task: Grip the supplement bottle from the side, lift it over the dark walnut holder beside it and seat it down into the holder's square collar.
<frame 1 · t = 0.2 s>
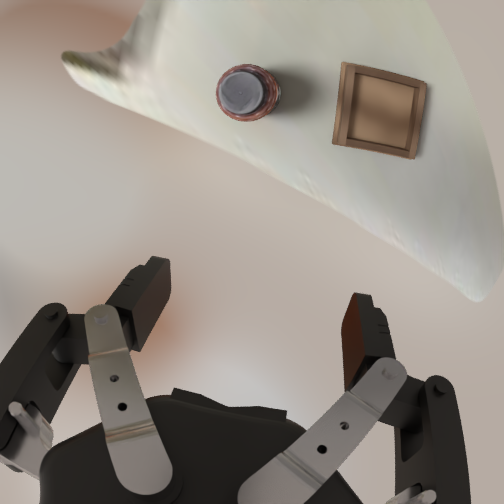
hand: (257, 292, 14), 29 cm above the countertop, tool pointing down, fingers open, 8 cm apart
supplement bottle: (256, 92, 35), on the countertop
can holder: (378, 110, 34), on the countertop
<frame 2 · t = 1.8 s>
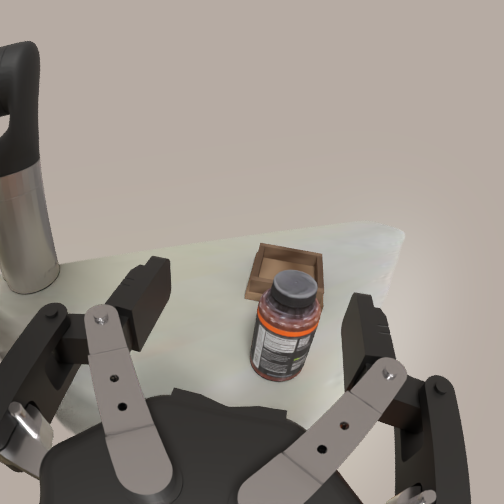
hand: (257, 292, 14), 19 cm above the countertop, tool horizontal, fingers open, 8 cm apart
supplement bottle: (275, 363, 34), on the countertop
can holder: (286, 282, 46), on the countertop
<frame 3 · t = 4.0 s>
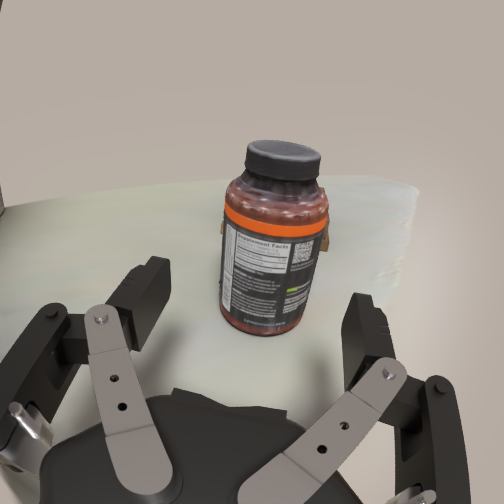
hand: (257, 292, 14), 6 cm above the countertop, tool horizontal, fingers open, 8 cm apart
supplement bottle: (260, 311, 22), on the countertop
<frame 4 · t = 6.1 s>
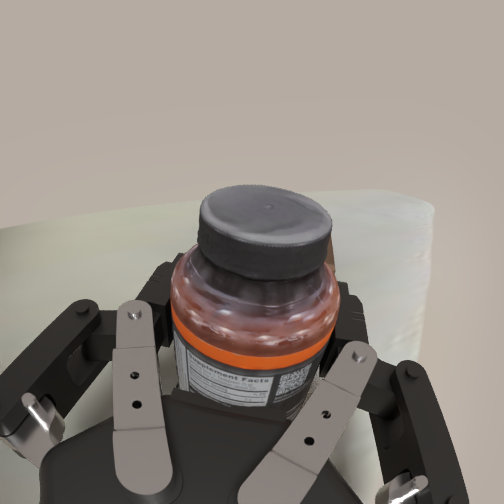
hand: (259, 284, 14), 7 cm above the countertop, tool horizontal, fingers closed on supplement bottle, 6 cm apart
supplement bottle: (237, 410, 15), on the countertop, touching gripper
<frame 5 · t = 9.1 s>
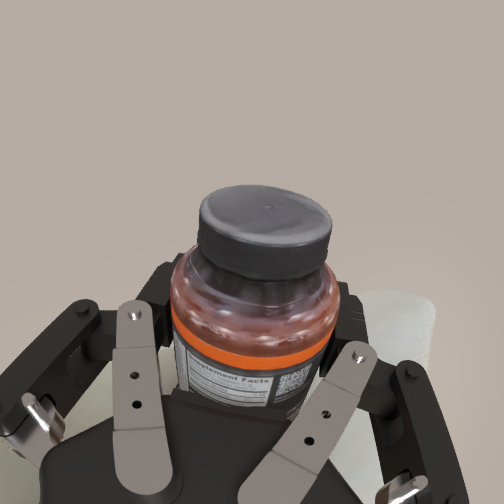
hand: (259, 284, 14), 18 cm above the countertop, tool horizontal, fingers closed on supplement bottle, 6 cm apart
supplement bottle: (237, 410, 15), point 11 cm above the countertop, touching gripper
when the fingers open (8 cm above the countertop, at t = 12.0 s): supplement bottle stays where it is, resting on can holder.
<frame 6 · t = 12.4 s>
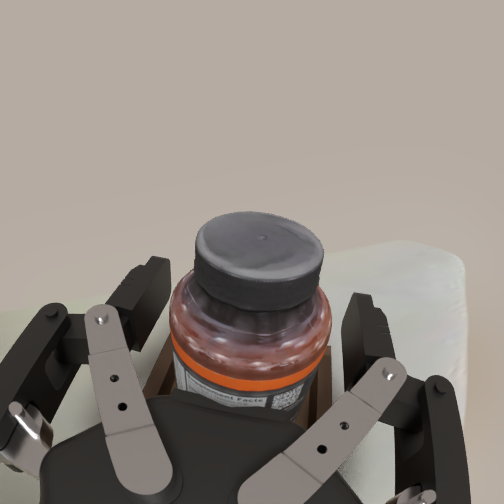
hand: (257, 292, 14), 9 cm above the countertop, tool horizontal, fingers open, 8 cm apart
supplement bottle: (235, 420, 16), point 1 cm above the countertop, touching can holder
can holder: (235, 424, 16), on the countertop
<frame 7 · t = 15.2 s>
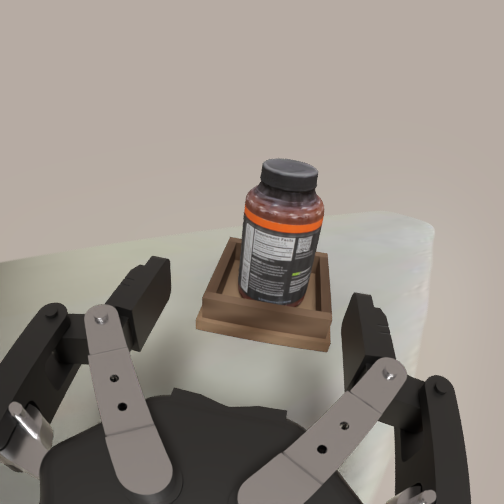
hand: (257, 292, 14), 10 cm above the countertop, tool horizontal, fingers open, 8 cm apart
supplement bottle: (270, 294, 28), point 1 cm above the countertop, touching can holder
can holder: (269, 300, 28), on the countertop
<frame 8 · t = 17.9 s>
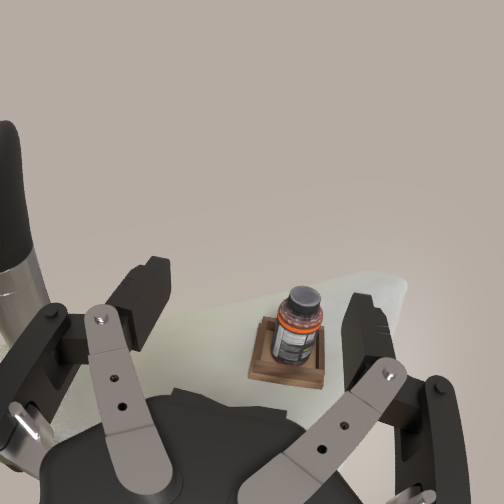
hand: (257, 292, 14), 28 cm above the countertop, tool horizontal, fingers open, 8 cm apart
supplement bottle: (289, 354, 45), point 1 cm above the countertop, touching can holder
can holder: (288, 357, 46), on the countertop
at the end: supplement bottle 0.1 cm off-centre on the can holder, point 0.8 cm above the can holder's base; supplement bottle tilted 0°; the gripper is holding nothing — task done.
